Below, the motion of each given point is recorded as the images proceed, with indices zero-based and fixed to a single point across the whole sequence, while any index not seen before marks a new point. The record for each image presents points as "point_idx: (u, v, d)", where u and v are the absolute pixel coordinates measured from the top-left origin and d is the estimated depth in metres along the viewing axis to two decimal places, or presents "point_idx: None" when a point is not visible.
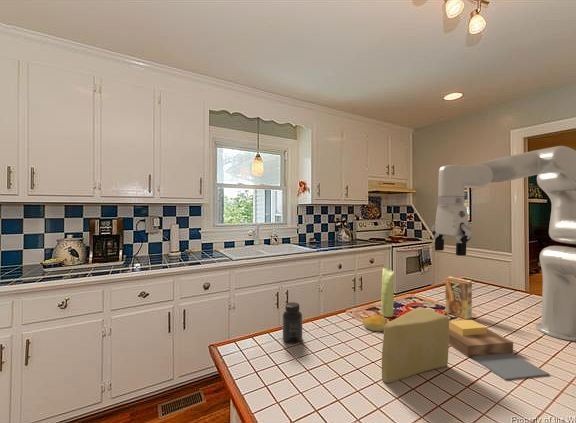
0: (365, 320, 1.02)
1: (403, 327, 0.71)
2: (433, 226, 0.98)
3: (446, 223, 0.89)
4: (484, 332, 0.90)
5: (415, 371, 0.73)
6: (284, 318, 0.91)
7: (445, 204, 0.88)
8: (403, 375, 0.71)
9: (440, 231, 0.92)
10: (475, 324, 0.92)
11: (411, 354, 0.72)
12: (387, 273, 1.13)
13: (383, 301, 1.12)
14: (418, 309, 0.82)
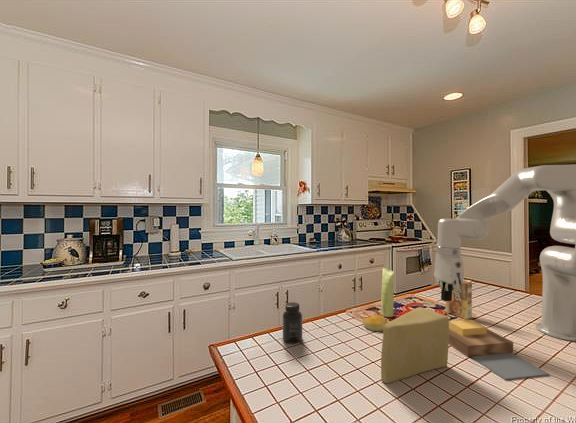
0: (365, 320, 1.02)
1: (403, 327, 0.70)
2: None
3: (443, 271, 0.99)
4: (484, 332, 0.90)
5: (414, 371, 0.73)
6: (284, 318, 0.91)
7: (443, 254, 0.98)
8: (402, 375, 0.71)
9: (438, 277, 1.02)
10: (475, 324, 0.92)
11: (411, 354, 0.72)
12: (387, 273, 1.13)
13: (383, 301, 1.12)
14: (418, 309, 0.82)
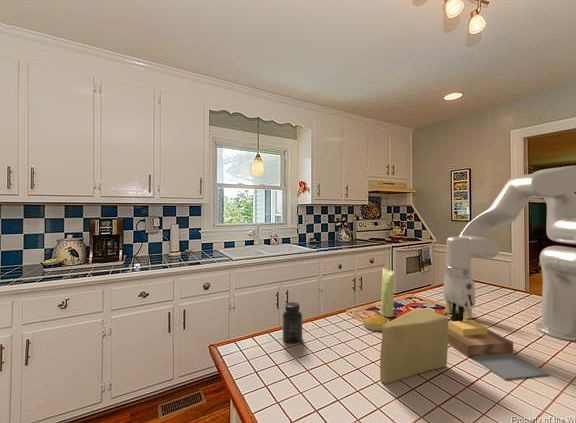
0: (365, 320, 1.02)
1: (402, 328, 0.70)
2: None
3: (453, 292, 0.95)
4: (484, 332, 0.89)
5: (414, 372, 0.73)
6: (284, 318, 0.91)
7: (453, 275, 0.94)
8: (402, 376, 0.71)
9: (448, 298, 0.98)
10: (476, 324, 0.92)
11: (410, 355, 0.71)
12: (387, 273, 1.13)
13: (383, 301, 1.12)
14: (417, 309, 0.81)
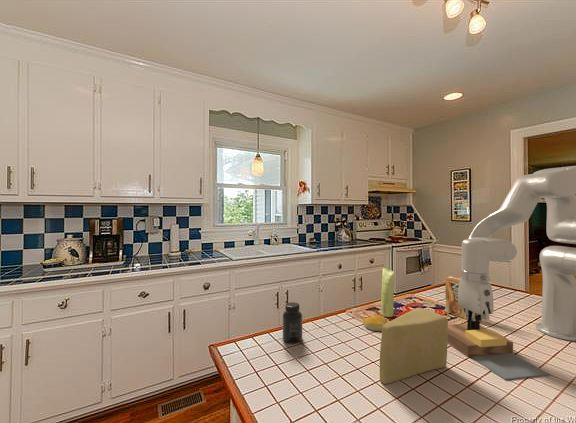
0: (365, 320, 1.02)
1: (401, 328, 0.70)
2: None
3: (470, 299, 0.88)
4: (504, 343, 0.82)
5: (413, 372, 0.73)
6: (284, 318, 0.91)
7: (469, 280, 0.87)
8: (401, 376, 0.71)
9: (463, 304, 0.91)
10: (494, 334, 0.84)
11: (410, 355, 0.71)
12: (387, 273, 1.13)
13: (383, 301, 1.12)
14: (417, 310, 0.81)
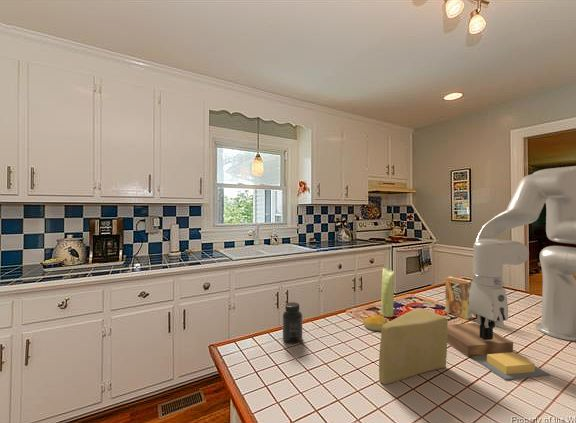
0: (365, 320, 1.02)
1: (401, 328, 0.70)
2: None
3: (482, 304, 0.83)
4: None
5: (413, 372, 0.72)
6: (284, 318, 0.91)
7: (482, 285, 0.82)
8: (401, 376, 0.71)
9: (475, 310, 0.86)
10: None
11: (409, 355, 0.71)
12: (387, 273, 1.13)
13: (383, 301, 1.12)
14: (416, 310, 0.81)
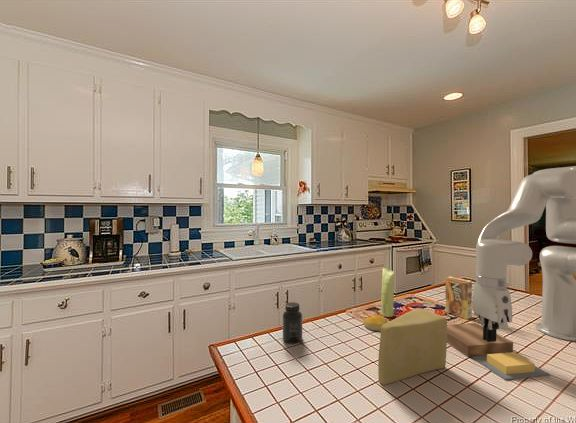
0: (366, 320, 1.02)
1: (400, 328, 0.70)
2: None
3: (486, 306, 0.82)
4: None
5: (412, 373, 0.72)
6: (284, 318, 0.91)
7: (485, 286, 0.81)
8: (400, 377, 0.71)
9: (479, 312, 0.85)
10: None
11: (408, 355, 0.71)
12: (387, 273, 1.13)
13: (383, 301, 1.12)
14: (416, 310, 0.81)
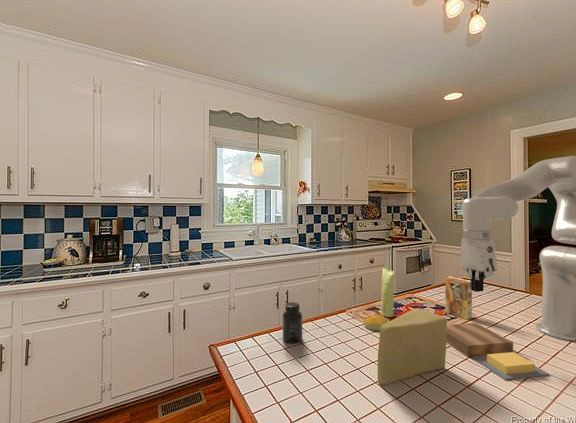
0: (366, 320, 1.02)
1: (400, 329, 0.70)
2: (464, 265, 0.93)
3: (473, 257, 0.87)
4: None
5: (412, 373, 0.72)
6: (284, 318, 0.91)
7: (471, 239, 0.86)
8: (399, 377, 0.71)
9: (466, 265, 0.90)
10: None
11: (408, 356, 0.71)
12: (387, 273, 1.13)
13: (383, 301, 1.12)
14: (415, 310, 0.81)
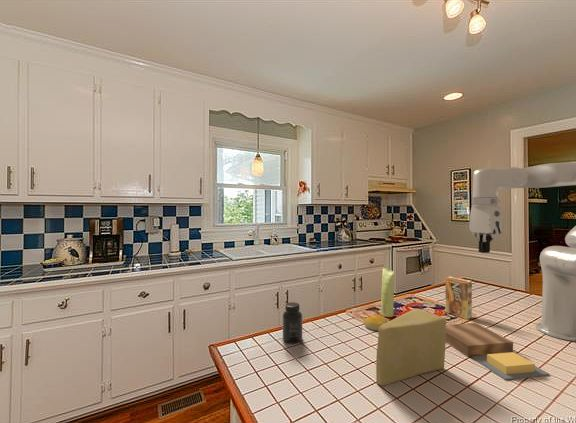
0: (366, 320, 1.03)
1: (398, 329, 0.70)
2: None
3: (481, 222, 0.98)
4: None
5: (410, 374, 0.72)
6: (284, 318, 0.91)
7: (480, 204, 0.97)
8: (398, 378, 0.70)
9: (475, 229, 1.01)
10: None
11: (407, 356, 0.71)
12: (387, 273, 1.13)
13: (383, 301, 1.12)
14: (414, 311, 0.81)
